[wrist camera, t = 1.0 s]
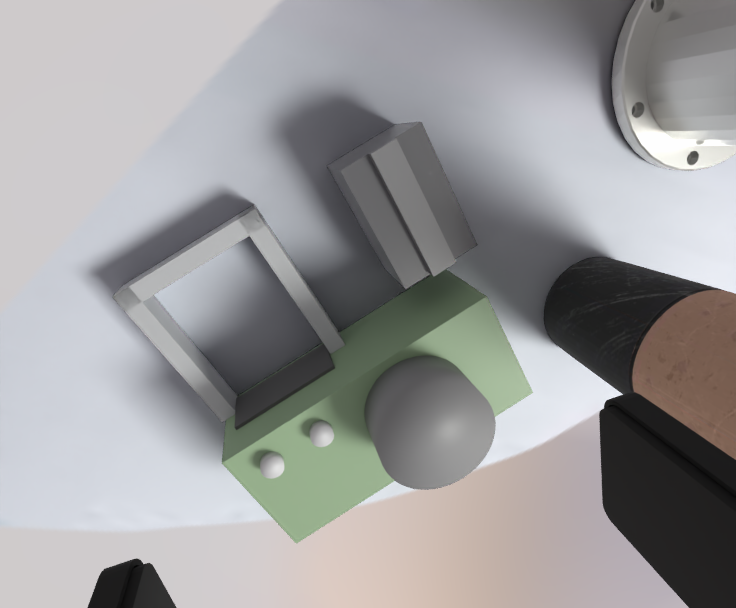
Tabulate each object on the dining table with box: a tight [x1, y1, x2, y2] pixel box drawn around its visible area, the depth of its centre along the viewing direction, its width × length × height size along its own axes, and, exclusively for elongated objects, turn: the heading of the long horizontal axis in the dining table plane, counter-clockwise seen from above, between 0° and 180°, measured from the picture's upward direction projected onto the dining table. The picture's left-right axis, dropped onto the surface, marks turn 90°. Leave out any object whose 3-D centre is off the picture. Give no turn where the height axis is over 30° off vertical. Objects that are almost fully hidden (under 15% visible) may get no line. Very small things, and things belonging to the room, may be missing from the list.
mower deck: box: [113, 204, 533, 543], centre depth 25 cm, size 16×16×9 cm
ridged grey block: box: [327, 122, 477, 289], centre depth 25 cm, size 4×7×5 cm, turn 29°
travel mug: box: [544, 257, 736, 460], centre depth 24 cm, size 8×8×20 cm
